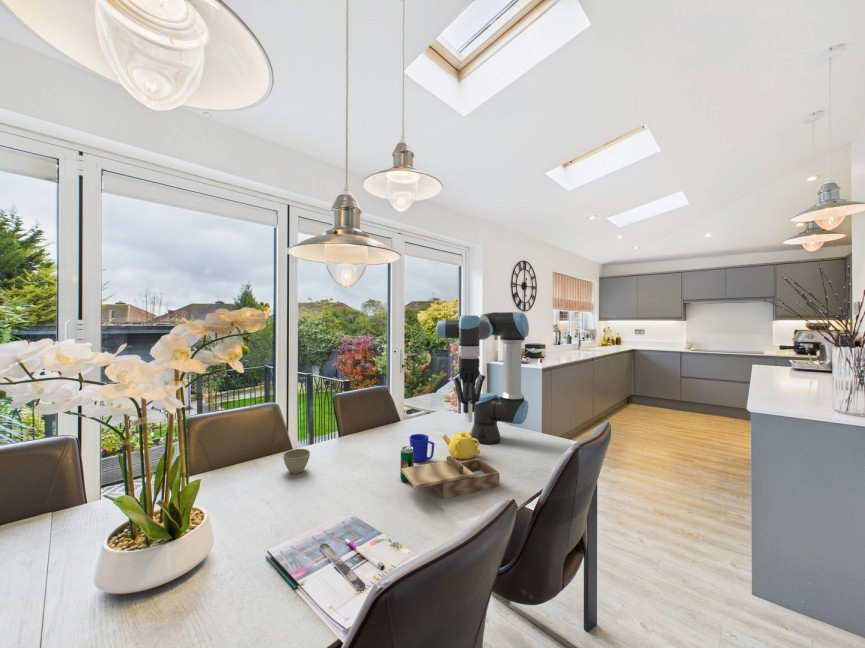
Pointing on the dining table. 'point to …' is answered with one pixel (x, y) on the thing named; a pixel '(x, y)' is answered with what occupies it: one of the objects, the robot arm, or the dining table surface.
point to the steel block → (478, 473)
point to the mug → (420, 447)
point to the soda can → (406, 460)
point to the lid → (436, 473)
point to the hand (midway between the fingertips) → (468, 421)
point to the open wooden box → (470, 480)
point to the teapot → (462, 446)
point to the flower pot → (296, 460)
